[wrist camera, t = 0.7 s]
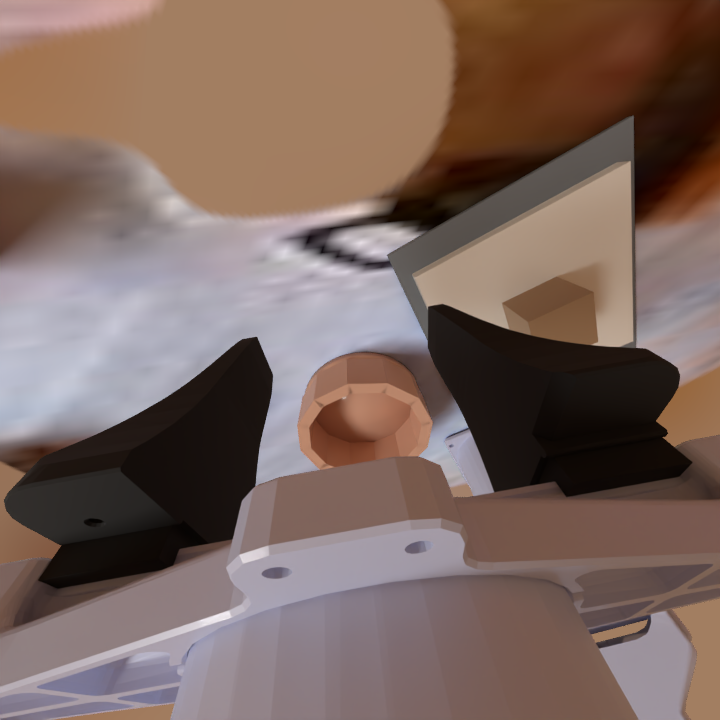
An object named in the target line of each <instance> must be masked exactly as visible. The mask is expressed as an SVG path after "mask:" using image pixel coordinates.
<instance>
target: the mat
mask: <svg viewBox="0 0 720 720" xmlns="http://www.w3.org/2000/svg"><path fill="white" fill-rule="evenodd" d="M625 161H631V219H632V287H633V342H630V343H628V344H625V345H623V346H621V347H626V348H636V313H635V206H634V116H630V117H627V118H625V119H623V120H622V121H620V122H618V123H616V124H615V125H613V126H611V127H609V128H608V129H606V130H604V131H602V132H601V133H599V134H597V135H595V136H594V137H592V138H590V139H588V140H587V141H585V142H583V143H581V144H580V145H578V146H576V147H574V148H573V149H571V150H569V151H568V152H566V153H564V154H562V155H561V156H559V157H557V158H555V159H554V160H552V161H550V162H548V163H547V164H545V165H543V166H541V167H540V168H538V169H536V170H534V171H533V172H531V173H529V174H527V175H526V176H524V177H522V178H520V179H519V180H517V181H515V182H513V183H512V184H510V185H508V186H506V187H505V188H503V189H501V190H499V191H498V192H496V193H494V194H492V195H491V196H489V197H487V198H485V199H484V200H482V201H480V202H479V203H477V204H475V205H473V206H472V207H470V208H468V209H466V210H465V211H463V212H461V213H459V214H458V215H456V216H454V217H452V218H451V219H449V220H447V221H445V222H444V223H442V224H440V225H438V226H437V227H435V228H433V229H431V230H430V231H428V232H426V233H424V234H423V235H421V236H419V237H417V238H416V239H414V240H412V241H410V242H409V243H407V244H405V245H403V246H402V247H400V248H398V249H397V250H395V251H393V252H391V253H390V254H388V255H387V256H388V258H389V260H390V262H391V265H392V267H393V269H394V271H395V273H396V275H397V277H398V279H399V281H400V283H401V286H402V288H403V290H404V292H405V294H406V296H407V298H408V300H409V302H410V304H411V307H412V309H413V311H414V313H415V315H416V317H417V319H418V321H419V323H420V326H421V328H422V330H423V332H424V334H425V336H426V338H427V340H428V309H427V307H426V305H425V303H424V300H423V298H422V296H421V294H420V291H419V289H418V287H417V285H416V282H415V280H414V278H413V276H412V274H413V273H415V272H416V271H418V270H420V269H422V268H424V267H426V266H427V265H429V264H431V263H433V262H435V261H437V260H438V259H440V258H442V257H444V256H446V255H448V254H449V253H451V252H453V251H455V250H457V249H459V248H460V247H462V246H464V245H466V244H468V243H470V242H471V241H473V240H475V239H477V238H479V237H481V236H482V235H484V234H486V233H488V232H490V231H492V230H493V229H495V228H497V227H499V226H501V225H503V224H504V223H506V222H508V221H510V220H512V219H514V218H515V217H517V216H519V215H521V214H523V213H525V212H526V211H528V210H530V209H532V208H534V207H536V206H537V205H539V204H541V203H543V202H545V201H547V200H548V199H550V198H552V197H554V196H556V195H558V194H559V193H561V192H563V191H565V190H567V189H569V188H570V187H572V186H574V185H576V184H578V183H580V182H581V181H583V180H585V179H587V178H589V177H591V176H592V175H594V174H596V173H598V172H600V171H602V170H603V169H605V168H607V167H609V166H611V165H613V164H614V163H616V162H625ZM461 412H462V411H461ZM462 414H463V413H462Z"/></svg>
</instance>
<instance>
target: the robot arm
mask: <svg viewBox="0 0 720 720" xmlns="http://www.w3.org/2000/svg"><path fill="white" fill-rule="evenodd" d="M428 349H429V352H430V354H431V357H432V359H433V362H434V364H435V366H436V368H437V370H438V372H439V373H440V375H441V377H442V378H443V380H444V382H445V384H446V385H447V387H448V389H449V390H450V392H451V394H452V395H453V397H454V399H455V400H456V402H457V404H458V406H459V408H460V410H461V411H462V413H463V416H464V418H465V420H466V423H467V425H468V427H469V429H468V430H466V431H463V432H461V433H458V434H456V435H453V436H451V437H448V438H446V439H445V441H444V442H445V445H446V446H447V448H448V450H449V452H450V454H451V455H452V457H453V459H454V461H455V462H456V464H457V466H458V468H459V469H460V471H461V473H462V475H463V476H464V478H465V480H466V482H467V484H468V485H469V486H470V489H471V491H472V493H473V495H474V496H472V497H453V495H452V493H451V490H450V488H449V485H448V482H447V480H446V477H445V475H444V473H443V471H442V468H441V466H440V465H438V464H436V463H433V462H431V461H428V460H426V459H424V458H421V457H418V456H403V457H389V458H384V459H378V460H373V461H367V462H361V463H356V464H350V465H345V466H339V467H333V468H328V469H322V470H317V471H311V472H306V473H300V474H294V475H289V476H283V477H279V478H276V479H273V480H271V481H268V482H265V483H262V484H259V485H258V486H256V487H255V484H256V473H257V464H258V455H259V447H260V442H261V437H262V433H263V429H264V425H265V420H266V416H267V412H268V408H269V404H270V399H271V394H272V382H273V374H272V372H271V369H270V367H269V364H268V362H267V360H266V357H265V355H264V353H263V350H262V348H261V345H260V343H259V341H258V338H257V337H253V338H247V339H242V340H241V341H239V342H238V343H236V344H235V345H234V346H232V347H231V348H230V349H229V350H228V351H226V352H225V353H224V354H223V355H222V356H221V357H219V358H218V359H217V360H216V361H215V362H214V363H212V364H211V365H210V366H209V367H207V368H206V369H205V370H204V371H202V372H201V373H200V374H199V375H197V376H196V377H195V378H193V379H192V380H191V381H190V382H188V383H187V384H185V385H184V386H183V387H181V388H180V389H178V390H177V391H175V392H174V393H172V394H171V395H169V396H168V397H166V398H165V399H163V400H161V401H160V402H158V403H156V404H154V405H153V406H151V407H149V408H147V409H146V410H144V411H142V412H140V413H139V414H137V415H135V416H133V417H131V418H129V419H127V420H125V421H123V422H121V423H119V424H117V425H115V426H113V427H111V428H109V429H107V430H105V431H103V432H101V433H98V434H96V435H94V436H92V437H89V438H87V439H85V440H82V441H80V442H78V443H75V444H73V445H70V446H68V447H66V448H63V449H61V450H58V451H56V452H53V453H51V454H48V455H46V456H44V457H42V458H41V459H40V460H39V461H38V462H37V463H36V464H35V465H34V466H33V467H32V468H31V469H30V470H29V471H28V472H27V473H26V474H25V475H24V477H23V478H22V479H21V480H20V481H19V482H18V483H17V484H16V485H15V486H14V487H13V488H12V489H11V490H10V491H9V492H8V494H7V496H6V497H5V499H4V503H5V507H6V511H7V512H8V513H9V514H10V516H11V517H12V518H13V519H15V520H16V521H18V522H19V523H21V524H22V525H24V526H26V527H27V528H29V529H31V530H33V531H35V532H37V533H39V534H41V535H42V536H44V537H46V538H48V539H50V540H52V541H54V542H55V543H57V544H59V545H61V547H60V549H59V550H58V552H57V553H56V554H55V556H54V557H53V559H49V558H32V559H27V560H21V561H16V562H10V563H4V564H0V720H53V719H60V718H67V717H73V716H80V715H88V714H95V713H102V712H110V711H118V710H126V709H134V708H142V707H149V706H157V705H165V704H173V703H175V705H174V709H173V712H172V715H171V720H691V719H690V718H689V716H688V715H687V713H686V712H685V707H686V700H687V696H688V692H689V688H690V684H691V680H692V676H693V673H694V669H695V664H696V658H697V651H696V649H695V647H694V646H693V644H692V643H691V640H692V637H691V634H690V633H689V631H688V630H687V628H686V627H685V625H684V624H683V623H682V622H681V621H680V619H679V618H678V617H677V615H676V614H675V613H674V611H673V610H672V609H675V608H680V607H684V606H688V605H693V604H697V603H701V602H705V601H710V600H714V599H719V598H720V435H716V436H711V437H705V438H700V439H694V440H690V441H686V442H683V443H681V444H680V445H677V446H676V447H673V446H672V445H671V444H670V443H668V442H667V441H666V440H665V439H664V438H662V437H665V436H666V435H667V434H668V432H667V430H666V429H665V428H664V427H662V426H661V425H660V424H659V423H657V422H656V420H657V418H658V417H659V416H660V414H661V413H662V411H663V410H664V408H665V407H666V406H667V404H668V403H669V402H670V400H671V399H672V397H673V396H674V394H675V392H676V390H677V389H678V386H679V380H680V374H679V371H678V368H677V367H675V366H674V365H673V364H671V363H670V362H668V361H666V360H665V359H663V358H661V357H660V356H658V355H656V354H654V353H653V352H651V351H649V350H647V349H643V348H626V347H609V346H596V345H587V344H578V343H570V342H564V341H557V340H552V339H547V338H541V337H537V336H532V335H528V334H524V333H520V332H517V331H513V330H509V329H506V328H503V327H500V326H497V325H495V324H492V323H489V322H486V321H484V320H481V319H479V318H476V317H474V316H472V315H469V314H467V313H465V312H462V311H460V310H458V309H455V308H453V307H451V306H448V305H445V304H439V305H433V306H428ZM647 618H648V621H647V625H646V626H645V628H643V629H642V630H640V631H638V632H637V633H633V634H629V635H625V636H621V637H617V638H613V639H609V640H605V641H601V642H597V643H595V641H594V639H593V638H592V636H591V634H594V633H598V632H602V631H606V630H609V629H613V628H617V627H621V626H625V625H628V624H632V623H636V622H640V621H644V620H647Z"/></svg>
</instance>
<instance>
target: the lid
mask: <svg viewBox="0 0 720 720" xmlns="http://www.w3.org/2000/svg"><path fill="white" fill-rule="evenodd" d="M412 276H413V278H414V280H415V282H416V285H417V287H418V289H419V291H420V294H421V296H422V298H423V300H424V303H425V305H426V307H427V309H428V306H433V305H439V304H445V305H448V306H451V307H453V308H455V309H458V310H460V311H462V312H465V313H467V314H469V315H472V316H474V317H476V318H479V319H481V320H484V321H486V322H489V323H492V324H495V325H497V326H500V327H503V328H506V329H509V330H513V331H517V332H520V333H524V334H528V335H532V336H537V337H541V338H547V339H552V340H557V341H564V342H570V343H578V344H587V345H596V346H609V347H621V346H623V345H625V344H628V343H630V342H633V287H632V219H631V161H625V162H616V163H614V164H613V165H611V166H609V167H607V168H605V169H603V170H602V171H600V172H598V173H596V174H594V175H592V176H591V177H589V178H587V179H585V180H583V181H581V182H580V183H578V184H576V185H574V186H572V187H570V188H569V189H567V190H565V191H563V192H561V193H559V194H558V195H556V196H554V197H552V198H550V199H548V200H547V201H545V202H543V203H541V204H539V205H537V206H536V207H534V208H532V209H530V210H528V211H526V212H525V213H523V214H521V215H519V216H517V217H515V218H514V219H512V220H510V221H508V222H506V223H504V224H503V225H501V226H499V227H497V228H495V229H493V230H492V231H490V232H488V233H486V234H484V235H482V236H481V237H479V238H477V239H475V240H473V241H471V242H470V243H468V244H466V245H464V246H462V247H460V248H459V249H457V250H455V251H453V252H451V253H449V254H448V255H446V256H444V257H442V258H440V259H438V260H437V261H435V262H433V263H431V264H429V265H427V266H426V267H424V268H422V269H420V270H418V271H416V272H415V273H413V274H412Z"/></svg>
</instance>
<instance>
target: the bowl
mask: <svg viewBox="0 0 720 720" xmlns="http://www.w3.org/2000/svg"><path fill="white" fill-rule="evenodd" d="M432 424H433V422H432V419H431V416H430V414H429V411H428V409H427V406H426V403H425V401H424V398H423V396H422V394H421V392H420V390H419V387H418V385H417V382H416V380H415V378H414V376H413V375H412V373H411V372H410V371H409V370H408V369H407V367H405V366H404V365H403V364H402V363H400V362H399V361H397V360H395V359H393V358H391V357H389V356H386V355H382V354H378V353H371V352H358V353H351V354H346V355H343V356H340V357H337V358H335V359H333V360H331V361H329V362H327V363H326V364H324V365H323V366H322V367H320V368H319V369H318V370H317V371H316V372H315V373H314V375H313V376H312V377H311V379H310V381H309V383H308V385H307V388H306V391H305V394H304V396H303V398H302V404H301V409H300V414H299V419H298V425H297V426H298V434H299V442H300V449H301V451H302V452H303V453H304V454H305V455H306V456H307V457H308V458H309V459H310V460H311V461H312V462H313V463H314V464H315V465H316V466H317V467H318V468H319V469H320V470H322V469H328V468H333V467H339V466H345V465H350V464H356V463H361V462H367V461H373V460H378V459H384V458H389V457H403V456H419V455H420V454H421V453H422V452H423V451H424V450H425V449H426V448H427V447H428V442H429V438H430V433H431V428H432Z"/></svg>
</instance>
